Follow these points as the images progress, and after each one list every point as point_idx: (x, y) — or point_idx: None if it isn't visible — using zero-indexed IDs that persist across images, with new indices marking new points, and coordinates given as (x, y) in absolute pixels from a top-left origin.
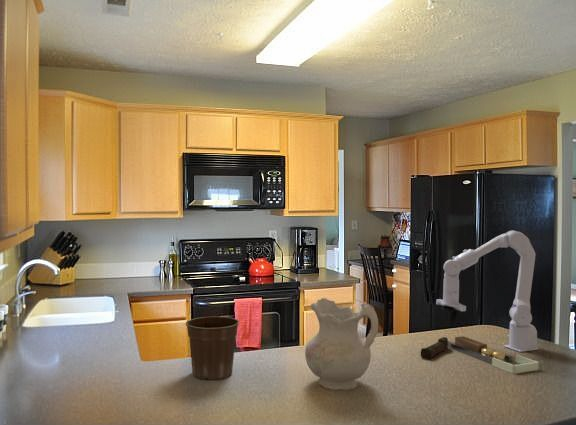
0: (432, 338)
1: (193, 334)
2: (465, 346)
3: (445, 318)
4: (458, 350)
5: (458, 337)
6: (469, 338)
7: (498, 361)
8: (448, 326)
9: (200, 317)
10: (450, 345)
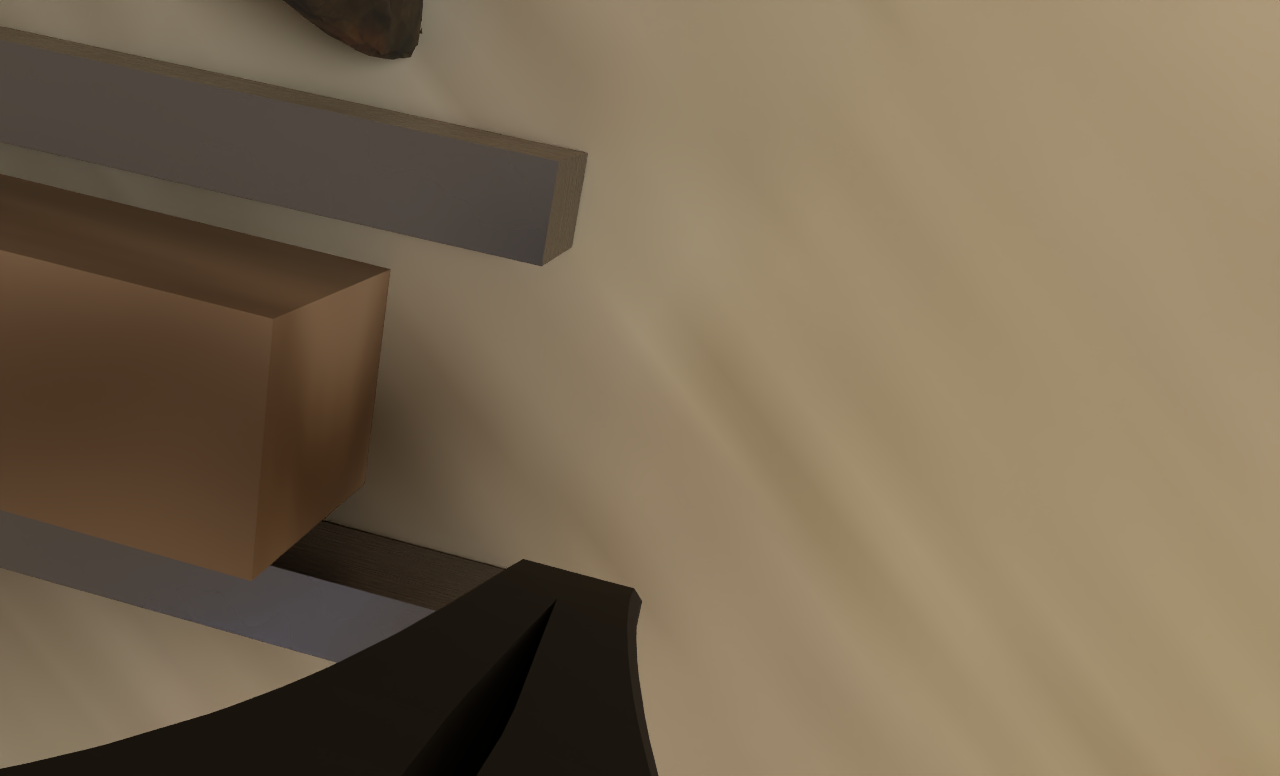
0: (1188, 473)
1: None
2: (9, 205)
3: (615, 730)
4: (122, 55)
5: (221, 376)
6: (49, 520)
7: None
8: (551, 569)
9: None
10: (349, 109)
